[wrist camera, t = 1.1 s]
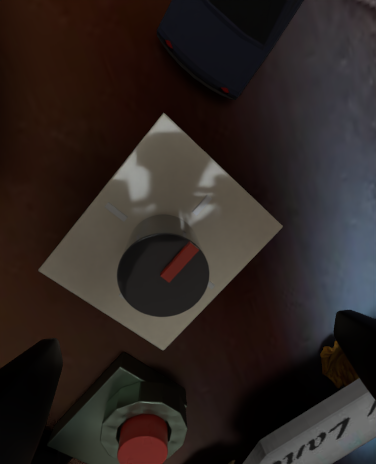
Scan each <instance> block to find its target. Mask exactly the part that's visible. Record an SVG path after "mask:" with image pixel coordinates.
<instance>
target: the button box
mask: <svg viewBox="0 0 376 464" xmlns="http://www.w3.org/2000/svg"><path fill="white" fill-rule="evenodd" d="M186 407H187V401H186V391H185V389H184V388H182V387H181V386H179V385H177V384H176V383H174V382H172V381H171V380H169V379H167V378H166V377H164V376H162V375H161V374H159V373H157V372H156V371H154V370H153V369H151V368H149V367H148V366H146V365H144V364H143V363H141V362H139V361H138V360H136V359H134V358H133V357H131V356H129V355H128V354H126V353H125V352H123V353H122V354H121V355H120V356H119V357H118V358H117V359H116V360H115V361H114V362H113V363H112V365H111V366H110V367H109V368H108V369H107V370H106V371H105V372H104V373H103V374H102V375H101V376H100V377H99V378H98V380H97V381H96V382H95V383H94V384H93V385H92V386H91V387H90V388H89V389H88V390H87V391H86V392H85V394H84V395H83V396H82V397H81V398H80V399H79V400H78V401H77V402H76V403H75V404H74V405H73V406H72V408H71V409H70V410H69V411H68V412H67V413H66V414H65V415H64V416H63V417H62V418H61V419H60V420H59V421H58V423H57V424H56V425H55V426H54V428H53V431H52V433H51V436H50V438H49V441H48V443H47V446H49V447H51V448H53V449H56V450H58V451H60V452H62V453H65V454H67V455H69V456H71V457H73V458H76V459H78V460H80V461H82V462H85V463H87V464H120V463H119V461H118V458H117V452H118V446H119V439H120V432H121V428H122V425H123V424H124V422H125V421H126V420H127V419H129V418H131V417H134V416H136V415H139V414H155V415H157V416H159V417H160V418H162V419H163V420H164V421H165V422H166V424H167V432H168V455H167V458H169V457H170V456H171V455H172V454H174V453H175V452H176V451H177V450H178V449H179V448H180V447H181V446H182V445H183V443H184V439H185V435H186V431H187V420H186V409H185V408H186ZM167 458H166V459H167Z"/></svg>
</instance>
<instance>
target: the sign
mask: <svg viewBox="0 0 376 464" xmlns="http://www.w3.org/2000/svg"><path fill="white" fill-rule="evenodd" d="M375 437H376V401H375V399H374V398H373V397H372V395H371V394H370V393H369V391H368V390H367V388H366V387H365V386H364V384H363V383H362V381H361V380H360V378H359V379H357V380H356V381H354V382H352V383H351V384H349V385H348V386H346V387H344V388H343V389H341V390H340V391H338V392H336V393H335V394H333V395H332V396H330V397H328V398H327V399H325V400H324V401H322V402H320V403H319V404H317V405H316V406H314V407H312V408H311V409H309V410H307V411H306V412H304V413H303V414H301V415H299V416H298V417H296V418H295V419H293V420H291V421H290V422H288V423H287V424H285V425H283V426H282V427H280V428H279V429H277V430H275V431H274V432H272V433H271V434H269V435H267V436H266V437H264V438H263V439H261V440H260V441H259V442H258V443H257V445H256V446H255V448H254V449H253V450H252V452H251V453H250V454H249V456H248V457H247V458H246V460H245V461H244V463H243V464H332V463H334V462H336V461H337V460H339V459H341V458H342V457H344V456H346V455H347V454H349V453H350V452H352V451H354V450H355V449H357V448H359V447H360V446H362V445H364V444H365V443H367V442H369V441H370V440H372V439H374V438H375Z"/></svg>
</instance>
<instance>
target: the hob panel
mask: <svg viewBox="0 0 376 464" xmlns="http://www.w3.org/2000/svg"><path fill="white" fill-rule="evenodd" d="M160 214H166V215H172V216H176V217H178V218H180V219H182V220H184V221H185V222H187V223H188V224H189V225H190V226H191V228H192V229H193V230H194V232H195V234H196V236H197V238H198V241H199V243H200V245H201V248H202V250H203V252H204V255H205V257H206V259H207V262H208V265H209V272H210V273H209V283H208V286H207V289H206V291H205V293H204V295H203V296H202V298H201V299H200V300H199V301H198V303H196V304H195V305H194V306H193V307H192V308H190V309H189V310H187V311H185V312H183V313H181V314H178V315H175V316H169V317H155V316H150V315H146V314H144V313H141V312H139V311H138V310H136V309H134V308H133V307H132V306H131V305H130V304H129V303H128V302H127V301H126V300H125V299H124V297H123V296H122V294H121V292H120V290H119V287H118V283H117V268H118V264H119V261H120V259H121V256H122V254H123V252H124V249H125V247H126V244H127V242H128V239H129V237H130V235H131V233H132V231H133V229H134V228H135V227H136V226H137V225H138V224H139V223H140V222H141V221H143V220H144V219H146V218H148V217H151V216H154V215H160ZM282 227H283V226H282V225H281V224H280V223H279V222H278V221H277V220H276V219H275V218H274V217H273V216H272V215H271V214H270V213H269V212H268V211H266V210H265V209H264V208H263V207H262V206H261V205H260V204H259V203H258V202H257V201H256V200H255V199H254V198H253V197H252V196H251V195H250V194H249V193H248V192H247V191H246V190H244V189H243V188H242V187H241V186H240V185H239V184H238V183H237V182H236V181H235V180H234V179H233V178H232V177H231V176H230V175H229V174H228V173H227V172H226V171H225V170H224V169H222V168H221V167H220V166H219V165H218V164H217V163H216V162H215V161H214V160H213V159H212V158H211V157H210V156H209V155H208V154H207V153H206V152H205V151H204V150H203V149H202V148H200V147H199V146H198V145H197V144H196V143H195V142H194V141H193V140H192V139H191V138H190V137H189V136H188V135H187V134H186V133H185V132H184V131H183V130H182V129H181V128H179V127H178V126H177V125H176V124H175V123H174V122H173V121H172V120H171V119H170V118H169V117H168V116H167V115H166V114H165V113H163V114H162V115H161V116H160V118H159V119H158V120H157V121H156V123H155V124H154V125H153V127H152V128H151V129H150V130H149V132H148V133H147V134H146V135H145V137H144V138H143V139H142V140H141V142H140V143H139V144H138V145H137V147H136V148H135V149H134V150H133V152H132V153H131V154H130V155H129V157H128V158H127V159H126V160H125V162H124V163H123V164H122V165H121V167H120V168H119V169H118V170H117V172H116V173H115V174H114V175H113V177H112V178H111V179H110V180H109V182H108V183H107V184H106V185H105V187H104V188H103V189H102V190H101V192H100V193H99V194H98V195H97V197H96V198H95V199H94V201H93V202H92V203H91V204H90V206H89V207H88V208H87V209H86V211H85V212H84V213H83V214H82V216H81V217H80V218H79V219H78V221H77V222H76V223H75V224H74V226H73V227H72V228H71V229H70V231H69V232H68V233H67V234H66V236H65V237H64V238H63V239H62V241H61V242H60V243H59V244H58V246H57V247H56V248H55V249H54V251H53V252H52V253H51V254H50V256H49V257H48V258H47V259H46V261H45V262H44V263H43V264H42V266H41V267H40V268H39V270H38V271H39V272H41V273H43V274H44V275H46V276H47V277H49V278H50V279H52V280H53V281H55V282H57V283H58V284H60V285H61V286H63V287H64V288H66V289H68V290H69V291H71V292H72V293H74V294H75V295H77V296H78V297H80V298H82V299H83V300H85V301H86V302H88V303H89V304H91V305H93V306H94V307H96V308H97V309H99V310H100V311H102V312H103V313H105V314H107V315H108V316H110V317H111V318H113V319H114V320H116V321H118V322H119V323H121V324H122V325H124V326H125V327H127V328H128V329H130V330H132V331H133V332H135V333H136V334H138V335H139V336H141V337H143V338H144V339H146V340H147V341H149V342H150V343H152V344H153V345H155V346H157V347H158V348H160V349H161V350H165V349H166V348H167V347H168V345H169V344H170V343H171V342H172V341H173V340H174V339H175V338H176V337H177V336H178V335H179V334H180V333H181V332H182V331H183V330H184V329H185V328H186V327H187V326H188V325H189V324H190V323H191V322H192V321H193V320H194V319H195V318H196V316H197V315H198V314H199V313H200V312H201V311H202V310H203V309H204V308H205V307H206V306H207V305H208V304H209V303H210V302H211V301H212V300H213V299H214V298H215V297H216V296H217V295H218V294H219V293H220V292H221V291H222V290H223V289H224V287H225V286H226V285H227V284H228V283H229V282H230V281H231V280H232V279H233V278H234V277H235V276H236V275H237V274H238V273H239V272H240V271H241V270H242V269H243V268H244V267H245V266H246V265H247V264H248V263H249V262H250V261H251V260H252V258H253V257H254V256H255V255H256V254H257V253H258V252H259V251H260V250H261V249H262V248H263V247H264V246H265V245H266V244H267V243H268V242H269V241H270V240H271V239H272V238H273V237H274V236H275V235H276V234H277V233H278V232H279V231H280V229H281V228H282Z"/></svg>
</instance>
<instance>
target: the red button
mask: <svg viewBox="0 0 376 464" xmlns="http://www.w3.org/2000/svg"><path fill="white" fill-rule="evenodd" d="M167 455H168V432H167V424H166V422H165V421H164V420H163V419H162V418H160V417H159V416H157V415H155V414H139V415H136V416H134V417H131V418H129V419H127V420H126V421H125V422H124V424H123V425H122V428H121V432H120V439H119V446H118V452H117V458H118V461H119V463H120V464H163V462H164V461H165V460H166V458H167Z"/></svg>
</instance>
